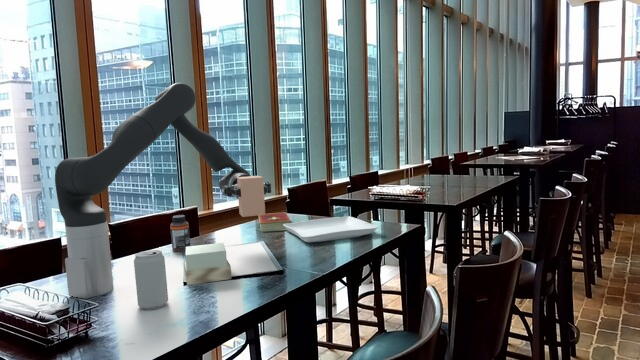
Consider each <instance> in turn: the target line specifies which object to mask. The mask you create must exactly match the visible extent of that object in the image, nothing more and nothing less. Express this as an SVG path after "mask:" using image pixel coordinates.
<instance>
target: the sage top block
mask: <svg viewBox="0 0 640 360" xmlns="http://www.w3.org/2000/svg"><path fill="white" fill-rule="evenodd" d="M185 261H186V267H187V271H189V270H197V269H205V268H214V267H222V266H227V261H228V259H227V250H226V247H225V243H224V242H215V243H209V244H200V245H190V246H188V247H186V250H185Z"/></svg>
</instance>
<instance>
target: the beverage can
mask: <svg viewBox="0 0 640 360" xmlns="http://www.w3.org/2000/svg"><path fill="white" fill-rule="evenodd" d="M134 256H135V257H134V260H133V267H134V269H133V270H134V275H135V276H134V277H135V286H136V296H137V297H136V298H137V306H138V307H139V308H141V309H143V310H157V309H160V308H162V307H165V305H166V304H167V303H168V302H169V294H168V293H169V292H168V283H167V282H168V281H167V272H166V259H165V255H164V254H163V251H162V250H159V249H151V250H144V251H140V252H138V253H137V252H136V253H135V254H134Z"/></svg>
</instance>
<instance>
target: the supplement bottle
mask: <svg viewBox="0 0 640 360" xmlns="http://www.w3.org/2000/svg"><path fill="white" fill-rule="evenodd" d="M189 225H190V224H189V222H188V221H186V215H184V214H178V215H177V214H176V215H173V216H172V222H171V223H170V225H169V226H170V227H169V228H170V230H169V231H170V238H171V249H172V251H174V252H184V251H185V252H186V247H188V246H191V236H190V234H191V233H190V226H189Z"/></svg>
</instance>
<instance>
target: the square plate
mask: <svg viewBox="0 0 640 360" xmlns="http://www.w3.org/2000/svg"><path fill="white" fill-rule="evenodd" d="M283 226H284V227H285V228H286V229H287V230H286V231H288V232H290V233H291V234H293V235H295V236H297V237H298V238H300V240H302V241H304V242H306V243H322V242H331V241H337V240H343V239H344V240H345V239H349V238H350V239H353V238H359V237H362V236H366V235H370V234H372V233H374V232H375V231H376V230H377V229H379V227H378V226H376V225H374V224H372V223H369V222H367V221H366V220H365V221H364V220H363V219H359V218H356V217H353V216H349V215H348V216H347V215H346V216H337V217H325V218H316V219H307V220H303V221H296V222H291V223H288V224H283Z"/></svg>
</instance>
